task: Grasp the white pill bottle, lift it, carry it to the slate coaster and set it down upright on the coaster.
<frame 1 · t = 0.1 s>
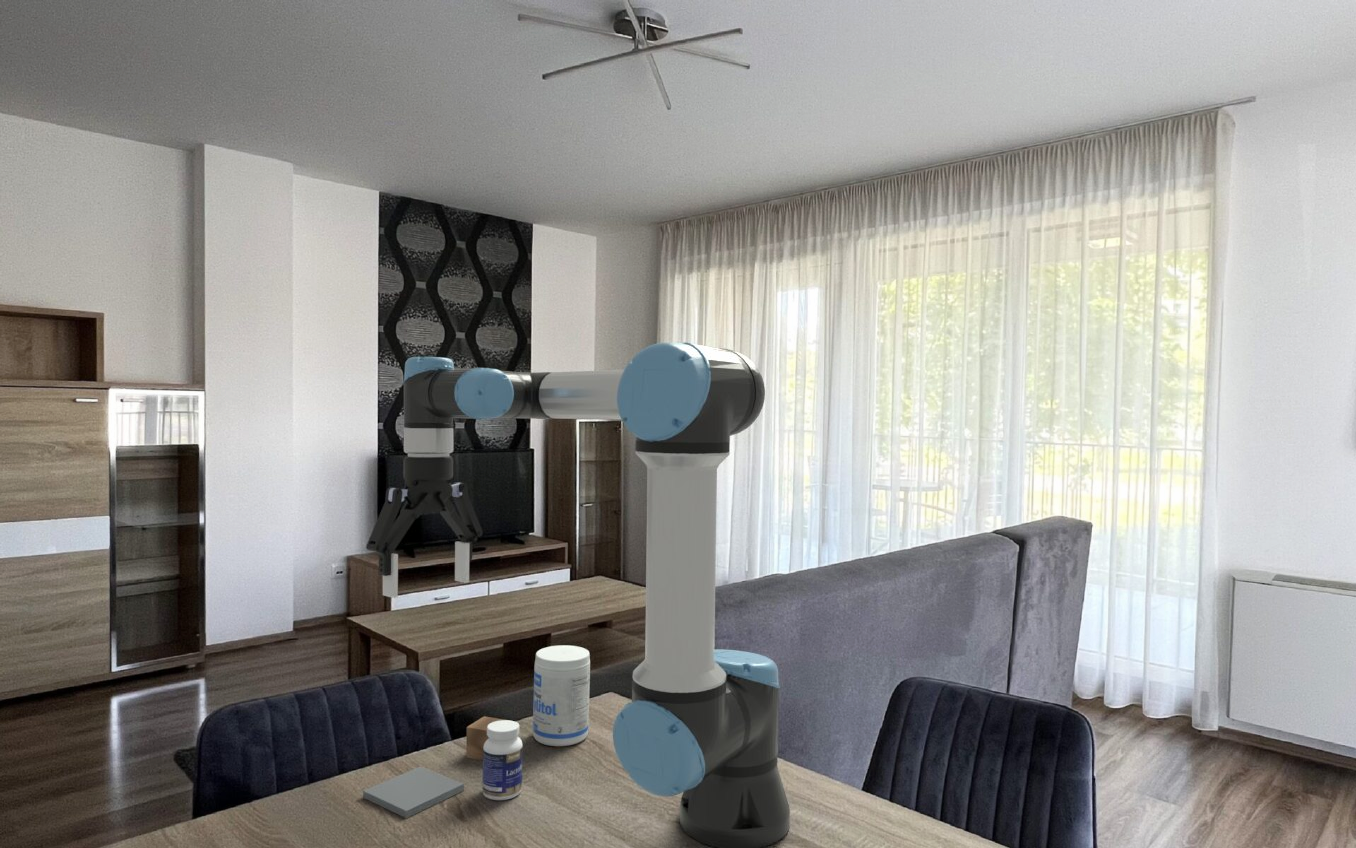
hand: (427, 588, 128), 28 cm above the table, fingers open, 13 cm apart
supplement tub: (561, 738, 139), on the table
slate coaster: (413, 794, 118), on the table
walnut cube: (488, 754, 132), on the table
pill bottle: (502, 794, 119), on the table
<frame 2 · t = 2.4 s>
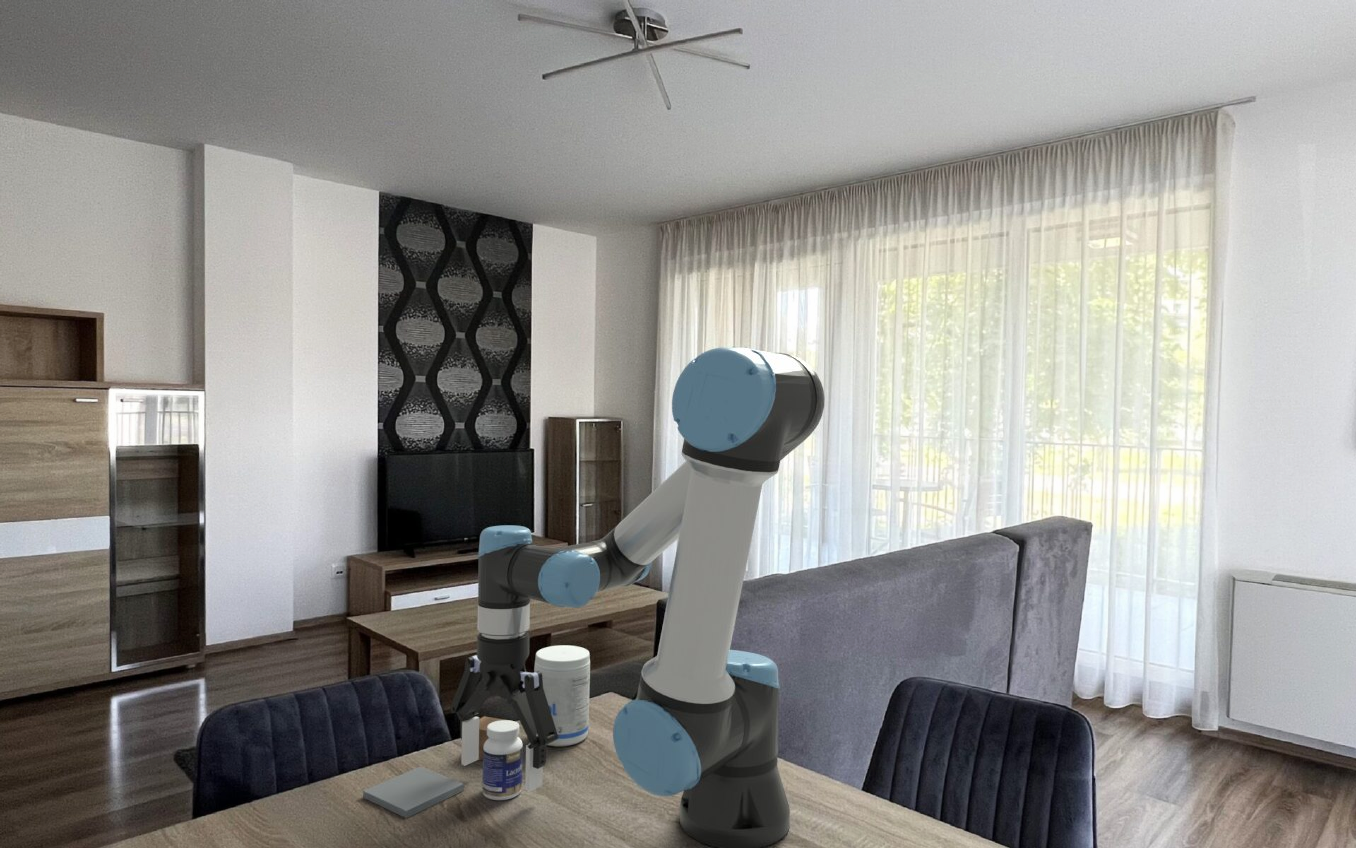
hand: (500, 775, 119), 2 cm above the table, fingers open, 13 cm apart
nothing on the table moved.
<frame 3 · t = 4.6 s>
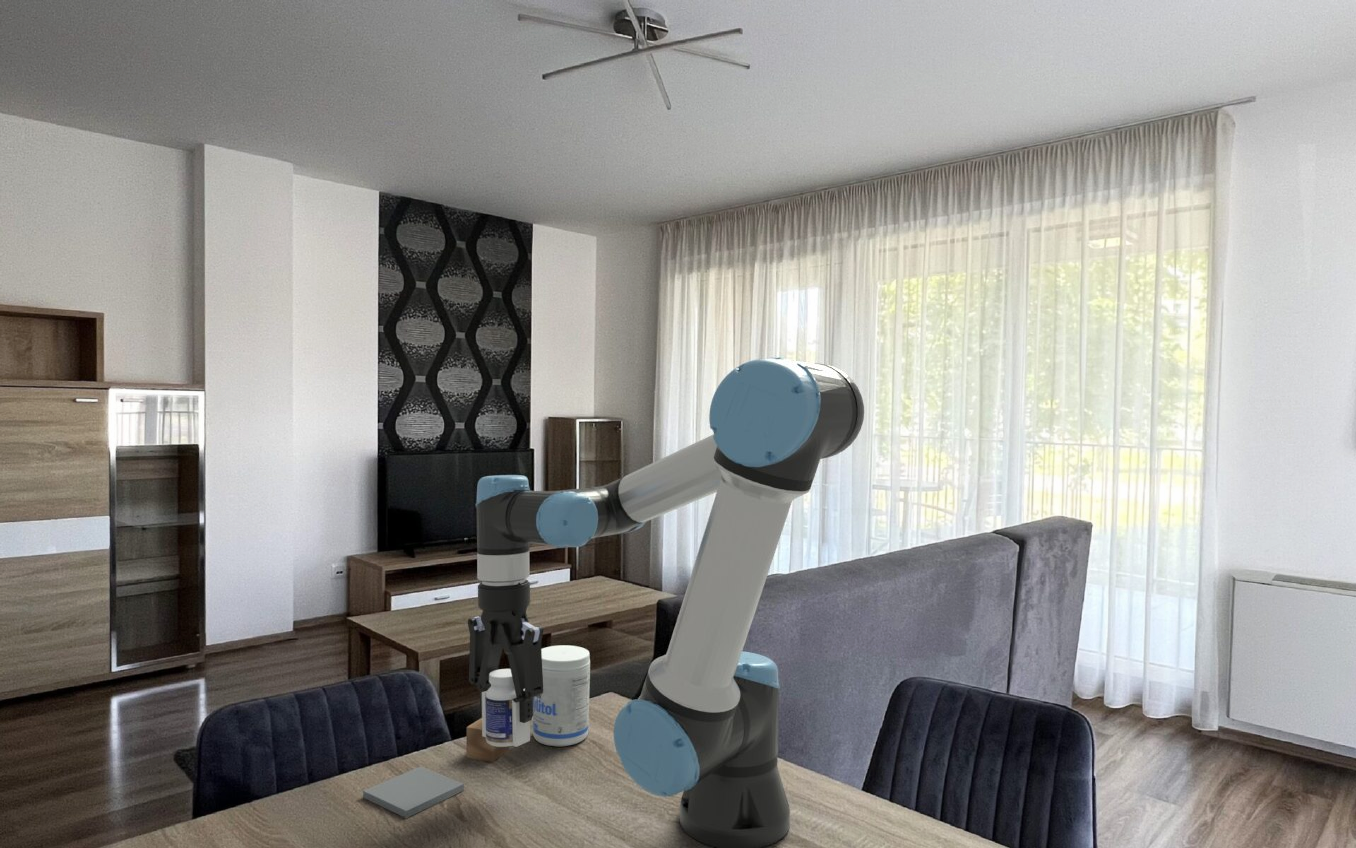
hand: (506, 738, 118), 8 cm above the table, fingers closed on pill bottle, 6 cm apart
pill bottle: (506, 742, 118), point 8 cm above the table, touching gripper
everything else where it was.
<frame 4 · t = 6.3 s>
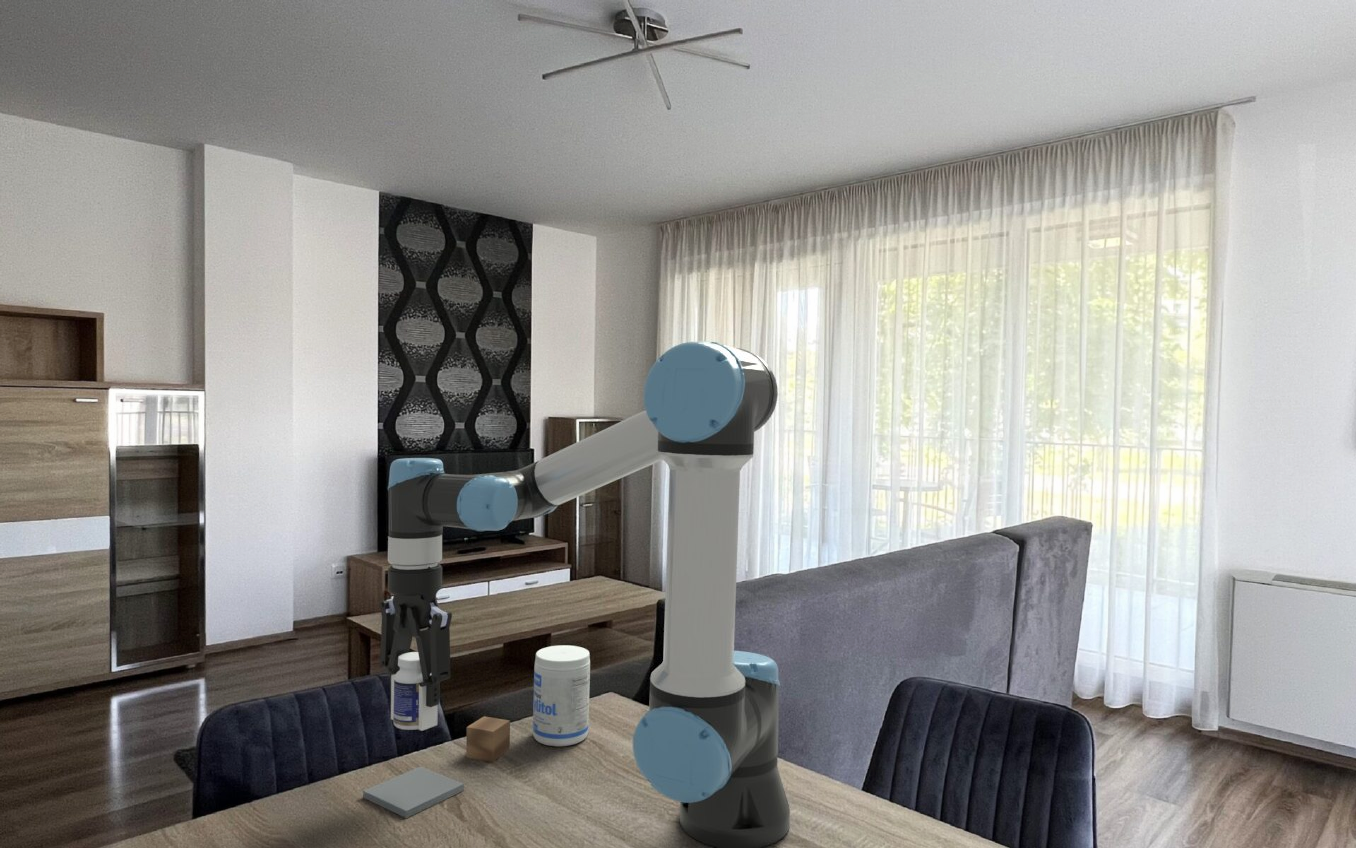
hand: (414, 721, 118), 11 cm above the table, fingers closed on pill bottle, 6 cm apart
pill bottle: (414, 725, 118), point 10 cm above the table, touching gripper
everything else where it was.
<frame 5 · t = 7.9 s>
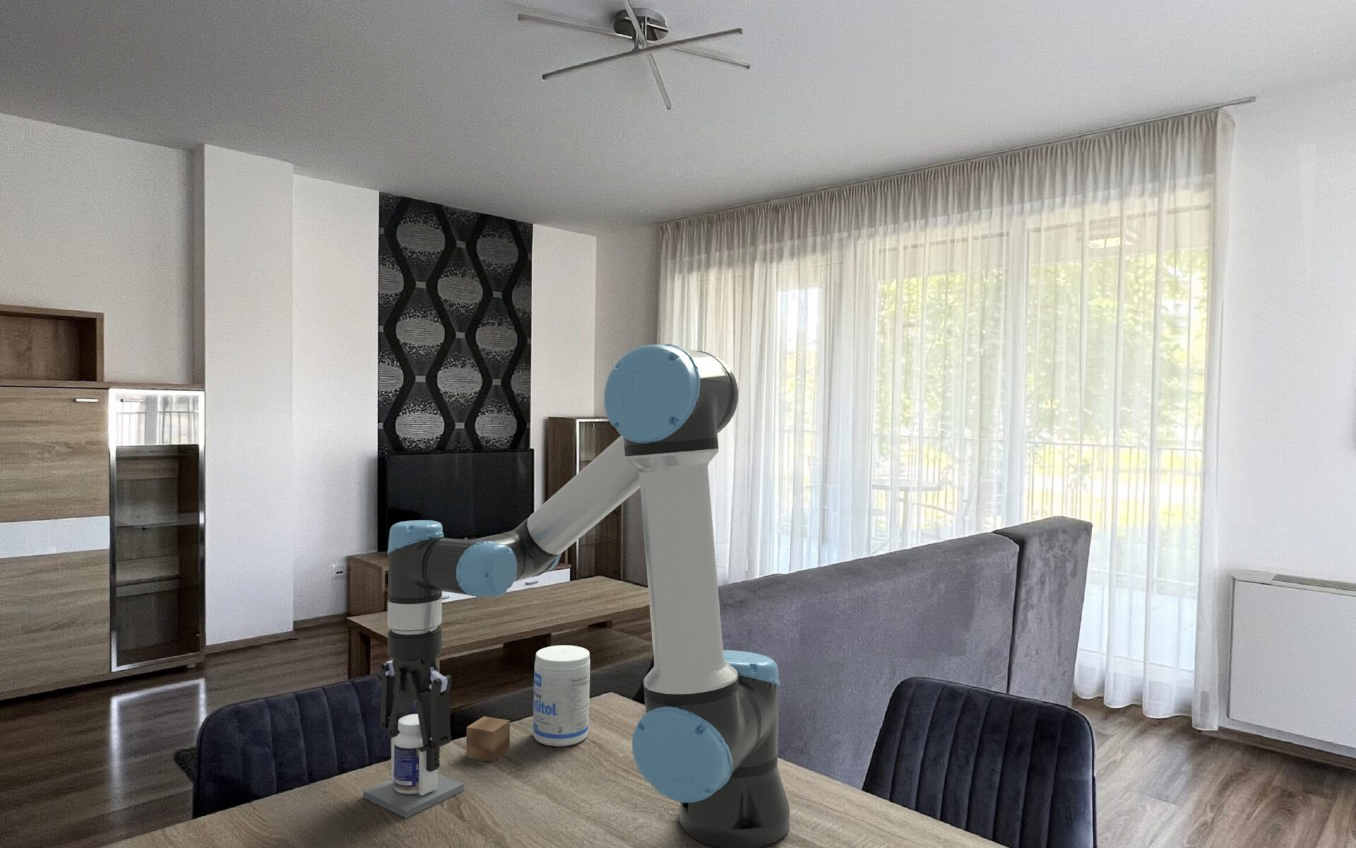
hand: (414, 784, 118), 1 cm above the table, fingers closed on pill bottle, 6 cm apart
pill bottle: (414, 788, 118), point 1 cm above the table, touching gripper
everything else where it was.
when the fingers open (1 cm above the table, at t = 8.5 s): pill bottle stays where it is, resting on slate coaster.
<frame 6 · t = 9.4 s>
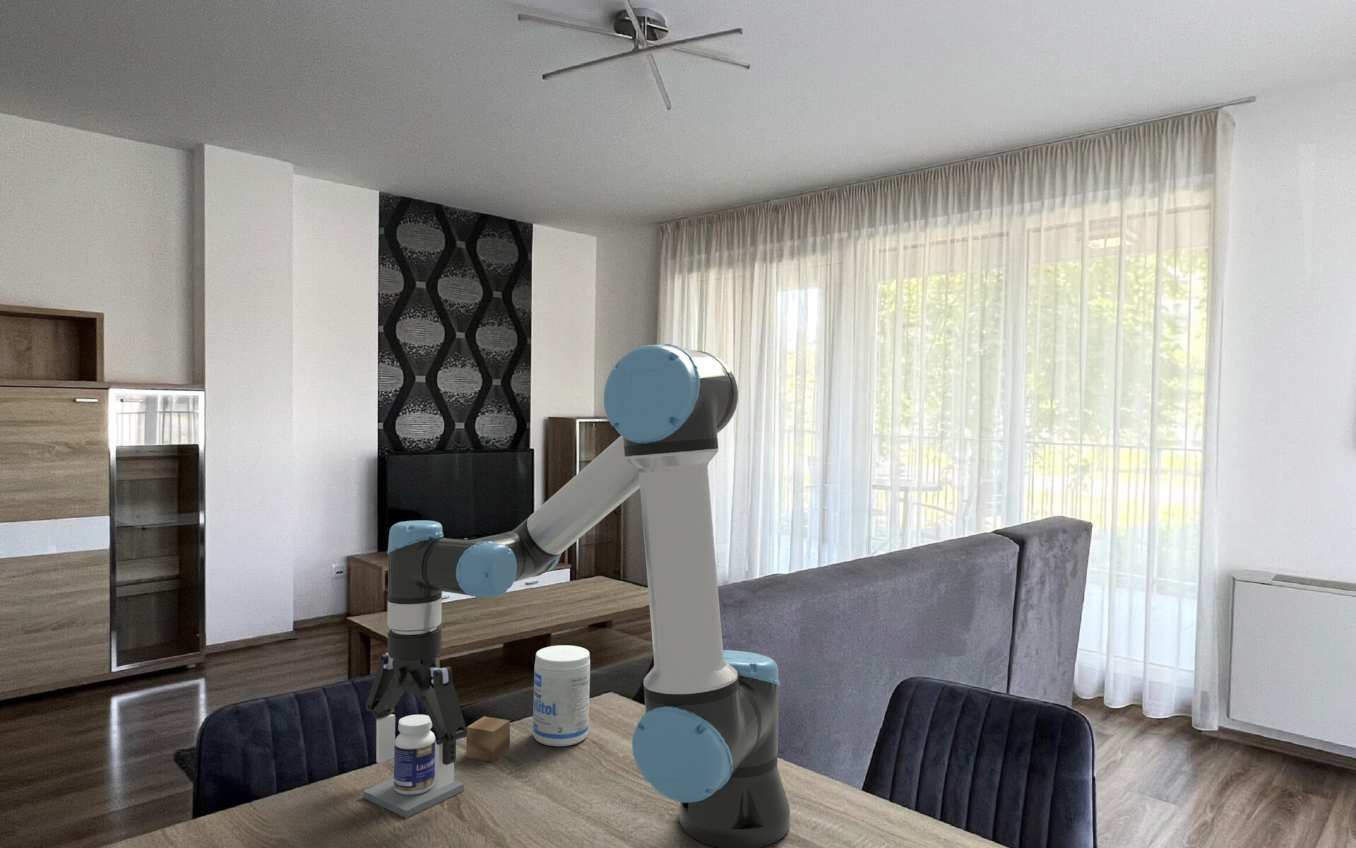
hand: (414, 772, 118), 3 cm above the table, fingers open, 13 cm apart
pill bottle: (414, 788, 118), point 1 cm above the table, touching slate coaster
everything else where it was.
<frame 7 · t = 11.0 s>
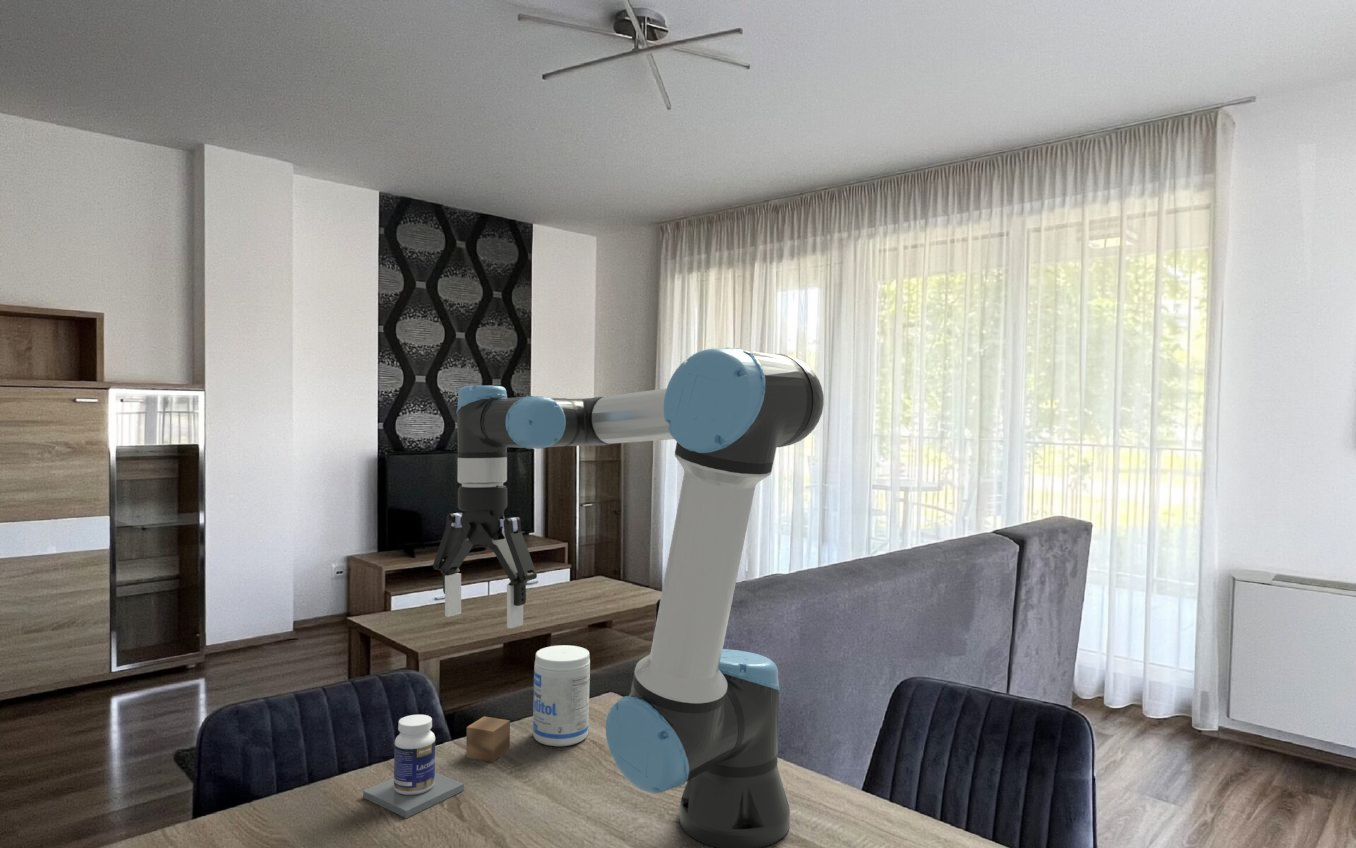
hand: (483, 620, 126), 23 cm above the table, fingers open, 13 cm apart
nothing on the table moved.
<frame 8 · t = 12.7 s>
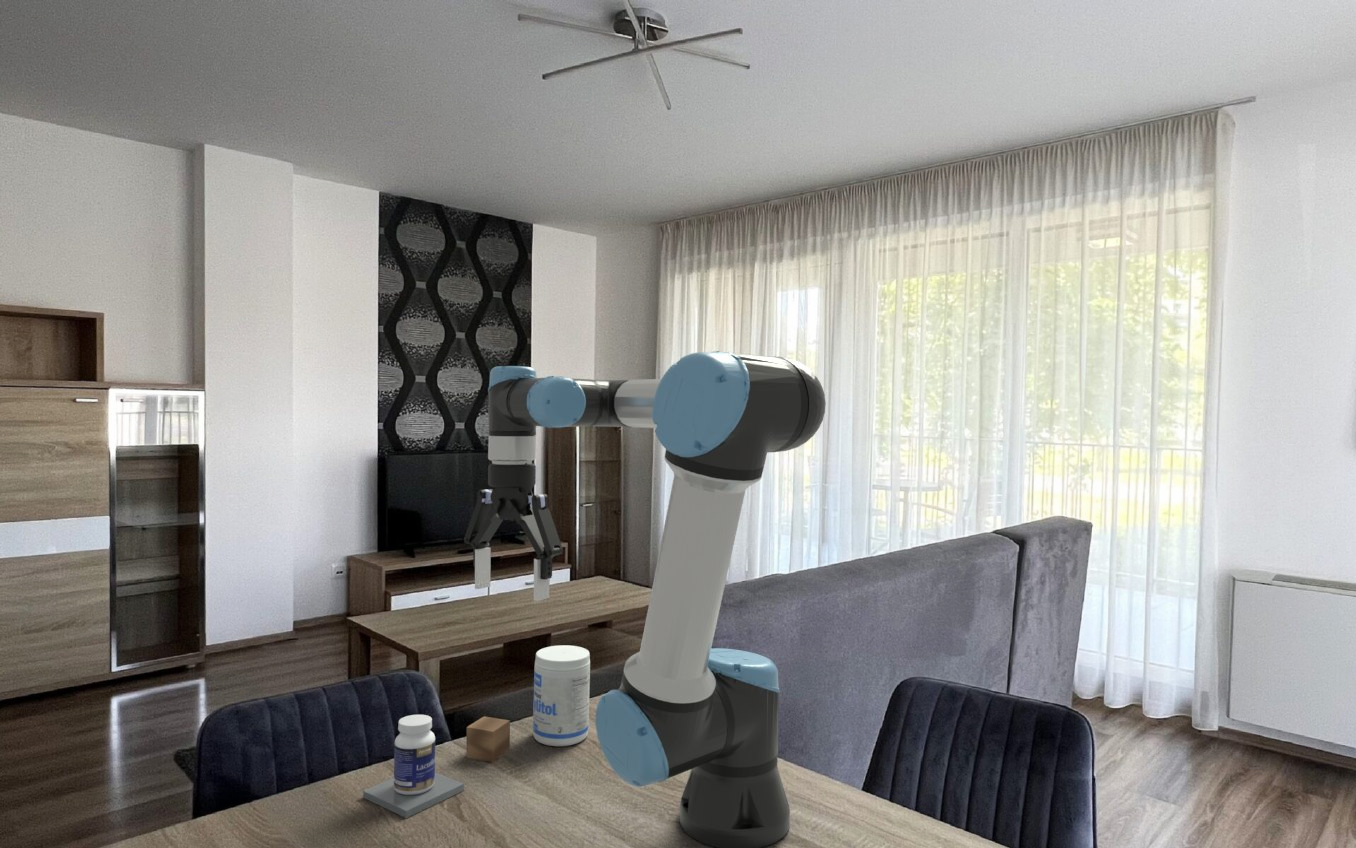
hand: (511, 593, 130), 27 cm above the table, fingers open, 13 cm apart
nothing on the table moved.
at the end: pill bottle 0.1 cm from the slate coaster (horizontally); pill bottle touching slate coaster; pill bottle tilted 0° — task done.
